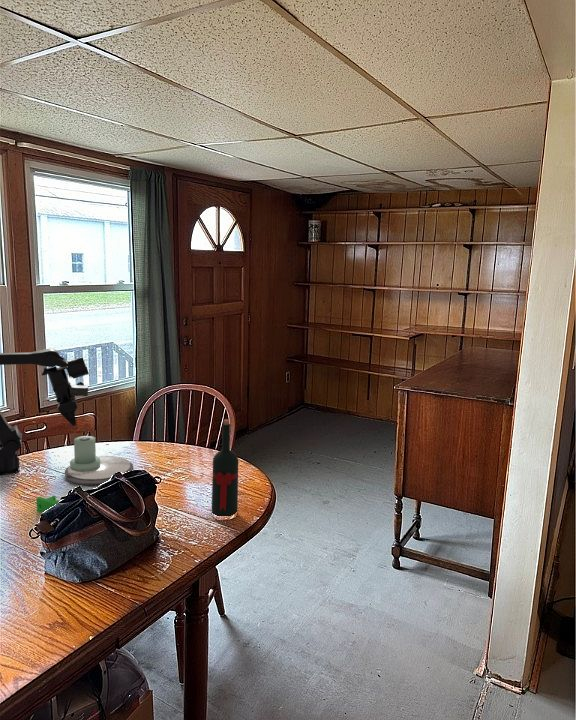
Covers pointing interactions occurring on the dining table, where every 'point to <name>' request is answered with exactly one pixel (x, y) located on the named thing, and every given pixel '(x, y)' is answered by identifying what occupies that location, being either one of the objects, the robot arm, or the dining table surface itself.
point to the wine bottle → (225, 477)
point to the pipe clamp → (45, 503)
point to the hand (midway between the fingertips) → (73, 422)
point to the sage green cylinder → (84, 454)
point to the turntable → (99, 471)
